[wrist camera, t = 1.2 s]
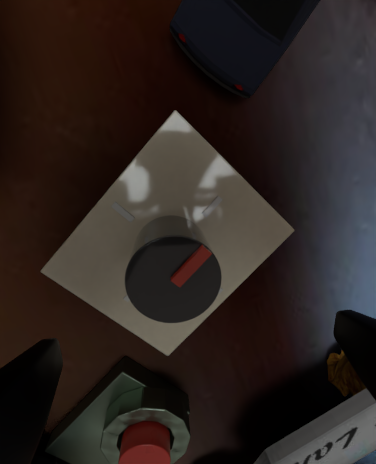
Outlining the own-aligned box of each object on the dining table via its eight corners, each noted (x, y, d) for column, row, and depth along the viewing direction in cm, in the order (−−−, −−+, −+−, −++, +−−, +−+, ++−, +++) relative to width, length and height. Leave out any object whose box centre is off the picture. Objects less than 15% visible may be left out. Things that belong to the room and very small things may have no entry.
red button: (149, 460, 20) (147, 488, 18) (111, 441, 19) (107, 469, 17) (179, 432, 19) (181, 458, 18) (143, 412, 18) (140, 437, 17)
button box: (123, 464, 24) (117, 514, 21) (52, 430, 22) (33, 478, 19) (200, 393, 23) (206, 434, 19) (131, 349, 21) (125, 386, 17)
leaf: (391, 319, 23) (408, 330, 21) (396, 383, 24) (411, 398, 22) (320, 335, 23) (331, 347, 21) (328, 397, 24) (339, 413, 22)
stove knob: (174, 296, 16) (178, 343, 12) (118, 254, 15) (102, 291, 11) (221, 246, 16) (243, 279, 11) (167, 199, 14) (169, 216, 10)
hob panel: (167, 328, 20) (167, 358, 17) (59, 253, 18) (38, 272, 15) (274, 219, 19) (296, 231, 16) (172, 117, 16) (175, 108, 13)
